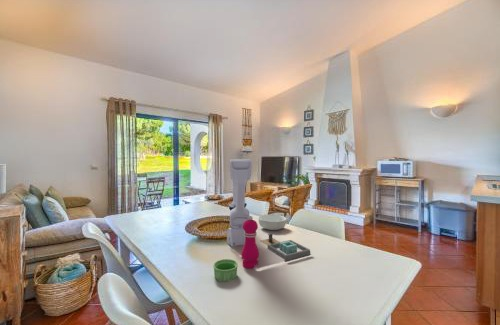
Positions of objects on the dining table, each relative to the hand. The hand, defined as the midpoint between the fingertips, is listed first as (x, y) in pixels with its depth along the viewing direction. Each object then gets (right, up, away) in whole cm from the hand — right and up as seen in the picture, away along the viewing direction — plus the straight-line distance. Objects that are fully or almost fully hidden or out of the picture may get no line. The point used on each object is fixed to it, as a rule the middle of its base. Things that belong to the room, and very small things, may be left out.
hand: (238, 217), depth 131 cm
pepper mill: (+7, -11, -37) cm, 39 cm away
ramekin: (-2, -11, -45) cm, 47 cm away
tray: (+24, -10, -25) cm, 36 cm away
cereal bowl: (+20, -10, +9) cm, 24 cm away
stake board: (+17, -10, -14) cm, 24 cm away
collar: (+24, -10, -25) cm, 36 cm away
